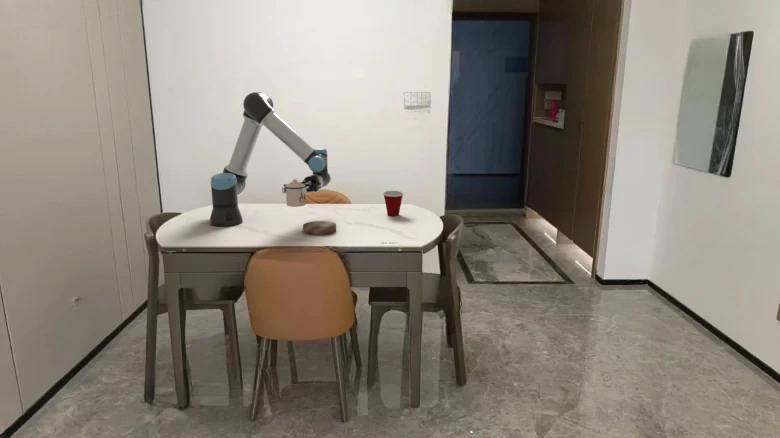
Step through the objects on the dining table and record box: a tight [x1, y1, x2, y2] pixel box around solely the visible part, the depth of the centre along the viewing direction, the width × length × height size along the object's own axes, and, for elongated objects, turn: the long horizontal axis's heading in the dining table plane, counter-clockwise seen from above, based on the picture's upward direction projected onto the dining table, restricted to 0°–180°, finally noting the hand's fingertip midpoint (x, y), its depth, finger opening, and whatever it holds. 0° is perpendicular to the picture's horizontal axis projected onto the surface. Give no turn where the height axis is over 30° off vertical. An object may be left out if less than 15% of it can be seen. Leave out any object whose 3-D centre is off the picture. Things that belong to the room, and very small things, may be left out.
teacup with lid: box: [285, 178, 307, 208], centre depth 246 cm, size 12×9×12 cm
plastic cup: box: [382, 190, 405, 217], centre depth 277 cm, size 11×11×12 cm
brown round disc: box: [302, 220, 337, 236], centre depth 246 cm, size 15×15×3 cm
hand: (292, 191), depth 242 cm, fingers closed on teacup with lid, 9 cm apart
